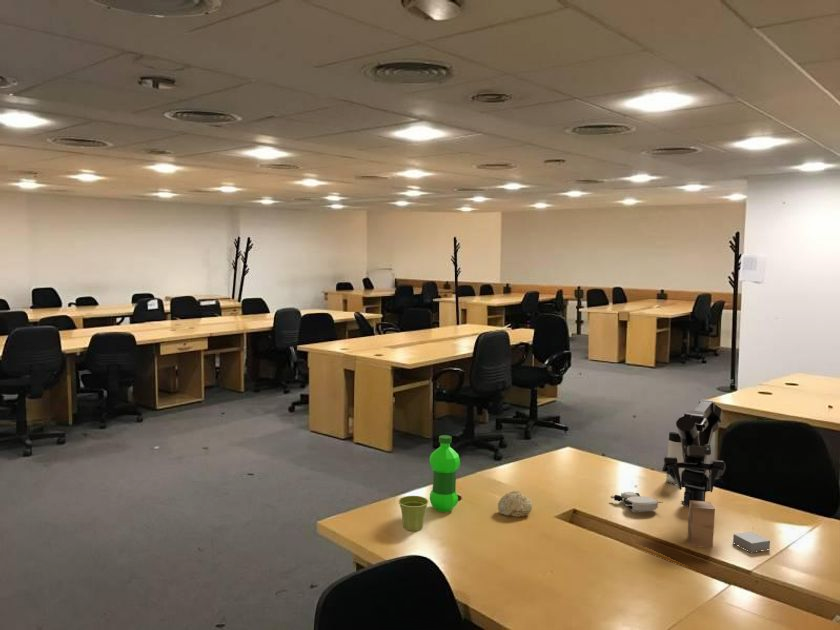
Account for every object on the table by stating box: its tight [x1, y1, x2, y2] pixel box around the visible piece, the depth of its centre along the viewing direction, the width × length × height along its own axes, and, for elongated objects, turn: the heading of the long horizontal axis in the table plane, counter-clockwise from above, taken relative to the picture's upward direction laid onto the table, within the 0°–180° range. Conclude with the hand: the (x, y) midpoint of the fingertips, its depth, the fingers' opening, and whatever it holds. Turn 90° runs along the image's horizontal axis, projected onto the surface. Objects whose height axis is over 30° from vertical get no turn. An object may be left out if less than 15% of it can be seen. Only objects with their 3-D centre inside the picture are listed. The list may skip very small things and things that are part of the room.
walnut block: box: [687, 500, 716, 548], centre depth 204 cm, size 6×6×12 cm
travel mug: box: [665, 431, 685, 485], centre depth 259 cm, size 6×7×20 cm
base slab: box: [732, 531, 771, 553], centre depth 202 cm, size 7×7×3 cm
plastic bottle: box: [429, 434, 461, 513], centre depth 226 cm, size 10×10×25 cm
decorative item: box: [497, 490, 533, 518], centre depth 224 cm, size 12×9×10 cm
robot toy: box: [610, 491, 664, 514], centre depth 232 cm, size 12×4×15 cm
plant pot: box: [398, 495, 430, 532], centre depth 210 cm, size 9×9×9 cm
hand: (696, 490), depth 212 cm, fingers open, 9 cm apart
